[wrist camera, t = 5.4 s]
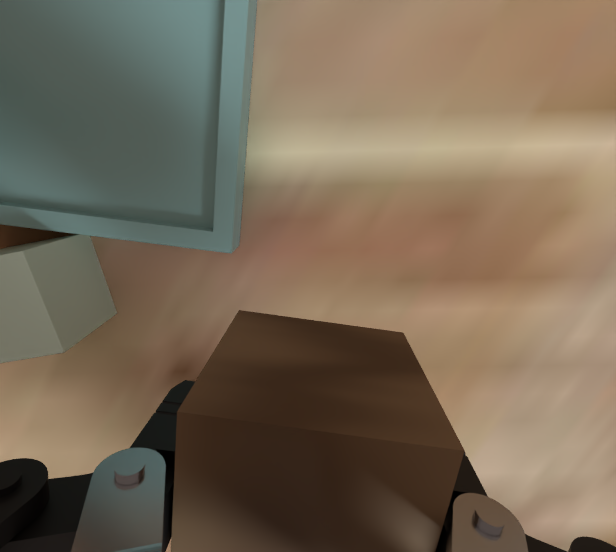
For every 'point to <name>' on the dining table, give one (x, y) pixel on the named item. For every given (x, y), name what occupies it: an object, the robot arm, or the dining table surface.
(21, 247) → the sage block
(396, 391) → the walnut block
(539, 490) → the dining table surface
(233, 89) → the teal tray
